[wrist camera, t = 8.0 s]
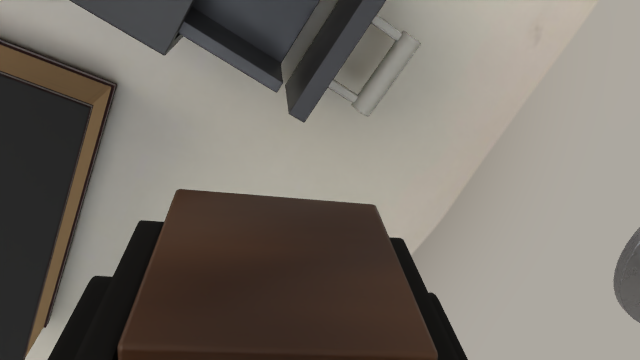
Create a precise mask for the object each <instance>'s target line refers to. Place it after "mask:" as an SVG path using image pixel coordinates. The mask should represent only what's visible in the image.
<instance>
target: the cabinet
mask: <svg viewBox="0 0 640 360" xmlns="http://www.w3.org/2000/svg"><path fill="white" fill-rule="evenodd" d="M70 1H72V2H73V3H75V4H77V5H78V6H80V7H82V8H84V9H85V10H87V11H89V12H90V13H92V14H94V15H96V16H97V17H99V18H101V19H102V20H104V21H106V22H108V23H109V24H111V25H113V26H114V27H116V28H118V29H120V30H121V31H123V32H125V33H126V34H128V35H130V36H131V37H133V38H135V39H137V40H138V41H140V42H142V43H143V44H145V45H147V46H149V47H150V48H152V49H154V50H155V51H157V52H159V53H161V54H162V55H166V54H167V53H168V52H169V51H170V50H171V49H172V48H173V47H174V45H175V44H176V43H177V42H178V41H179V40H180V39H181V38H182V37H183V36H182V35H181V34H179V33H178V32H179V30H180V28H181V26H182V24H183V22H184V20H185V18H186V16H187V14H188V13H189V11H190V9H191V7H192V5H193V3H194V1H195V0H70Z"/></svg>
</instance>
